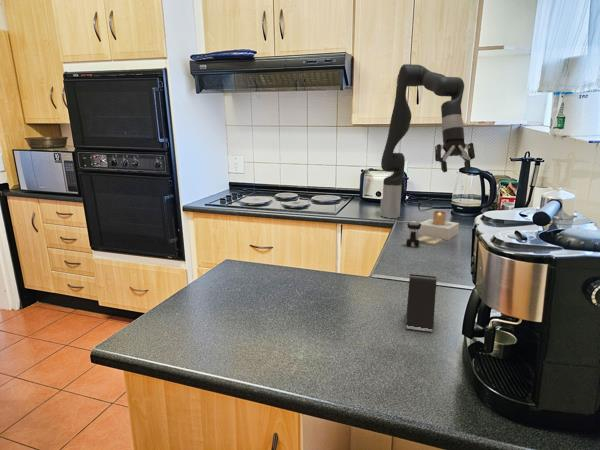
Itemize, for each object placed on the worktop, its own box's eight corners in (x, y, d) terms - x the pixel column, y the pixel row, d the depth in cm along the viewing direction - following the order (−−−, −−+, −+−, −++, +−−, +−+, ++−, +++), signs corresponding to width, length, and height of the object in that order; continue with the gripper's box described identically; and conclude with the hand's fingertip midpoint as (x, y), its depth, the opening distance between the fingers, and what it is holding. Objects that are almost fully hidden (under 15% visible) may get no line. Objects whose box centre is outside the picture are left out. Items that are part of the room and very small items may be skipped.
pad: (415, 241, 160) (415, 239, 160) (423, 237, 166) (423, 235, 166) (434, 245, 155) (434, 243, 155) (441, 241, 161) (442, 239, 161)
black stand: (402, 247, 153) (404, 222, 150) (401, 243, 158) (403, 219, 155) (419, 248, 151) (422, 223, 149) (418, 244, 156) (420, 220, 154)
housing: (417, 234, 170) (418, 223, 169) (429, 229, 180) (430, 218, 179) (447, 240, 162) (448, 228, 161) (457, 234, 172) (459, 223, 171)
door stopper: (406, 312, 99) (410, 268, 96) (431, 315, 97) (435, 270, 94) (405, 329, 90) (409, 281, 88) (432, 333, 89) (437, 284, 86)
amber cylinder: (430, 234, 171) (432, 211, 168) (434, 232, 175) (436, 210, 172) (441, 236, 168) (443, 213, 165) (445, 234, 172) (447, 211, 169)
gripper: (466, 131, 151) (469, 172, 150) (430, 132, 150) (433, 174, 149) (476, 125, 143) (479, 168, 142) (438, 126, 142) (441, 170, 141)
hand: (456, 171), depth 145 cm, fingers open, 8 cm apart
